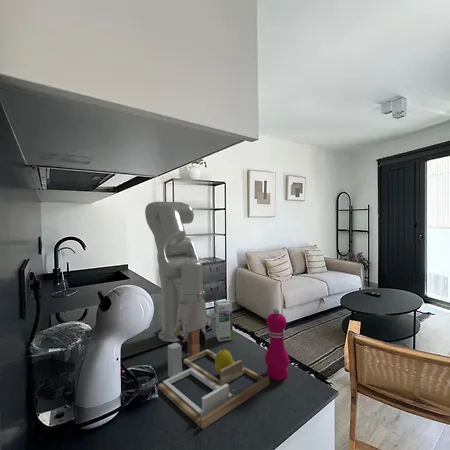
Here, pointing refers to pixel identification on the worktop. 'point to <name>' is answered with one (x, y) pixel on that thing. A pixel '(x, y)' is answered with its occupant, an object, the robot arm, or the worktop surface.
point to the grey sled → (175, 374)
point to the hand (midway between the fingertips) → (193, 348)
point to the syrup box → (223, 320)
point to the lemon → (222, 360)
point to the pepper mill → (276, 347)
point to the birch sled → (194, 353)
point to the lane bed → (223, 408)
